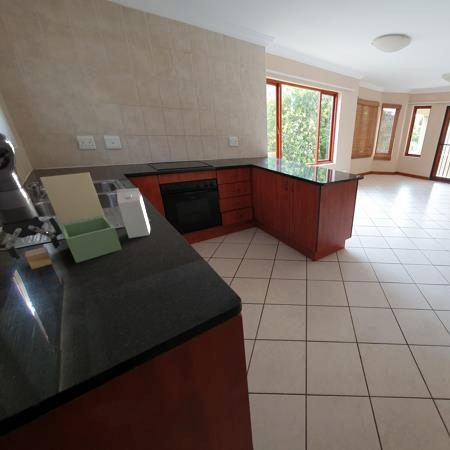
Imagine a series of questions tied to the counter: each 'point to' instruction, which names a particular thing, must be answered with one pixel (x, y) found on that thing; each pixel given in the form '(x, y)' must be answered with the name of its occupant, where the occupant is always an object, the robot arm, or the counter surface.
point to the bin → (91, 238)
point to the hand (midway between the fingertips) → (37, 252)
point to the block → (38, 257)
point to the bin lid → (72, 197)
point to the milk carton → (133, 212)
